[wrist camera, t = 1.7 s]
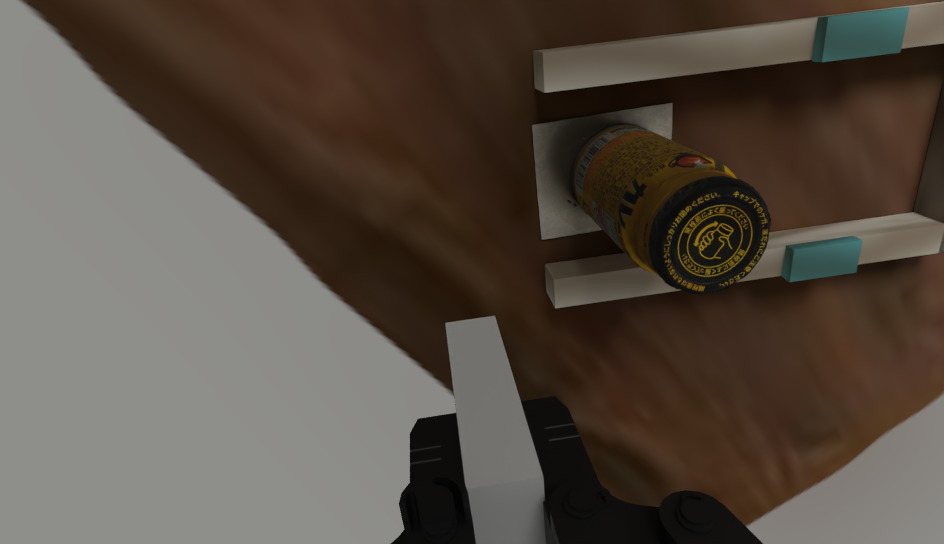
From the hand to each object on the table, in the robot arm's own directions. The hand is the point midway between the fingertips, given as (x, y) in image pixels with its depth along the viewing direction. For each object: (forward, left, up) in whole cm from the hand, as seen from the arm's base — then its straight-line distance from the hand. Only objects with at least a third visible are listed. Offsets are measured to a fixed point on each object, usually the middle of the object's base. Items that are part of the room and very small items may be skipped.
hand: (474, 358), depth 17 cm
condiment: (0, +10, -18) cm, 21 cm away
